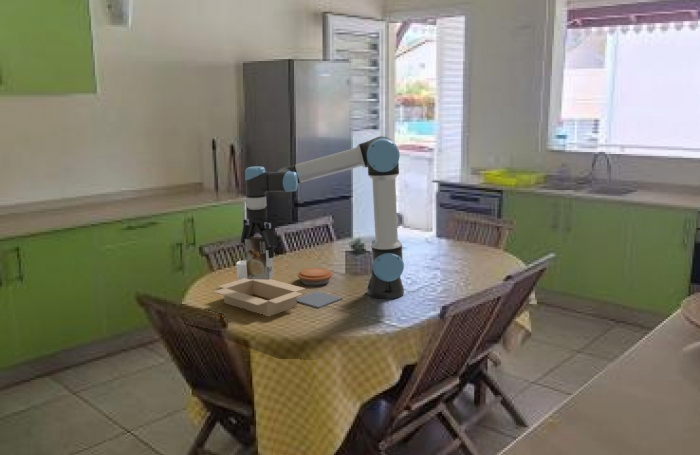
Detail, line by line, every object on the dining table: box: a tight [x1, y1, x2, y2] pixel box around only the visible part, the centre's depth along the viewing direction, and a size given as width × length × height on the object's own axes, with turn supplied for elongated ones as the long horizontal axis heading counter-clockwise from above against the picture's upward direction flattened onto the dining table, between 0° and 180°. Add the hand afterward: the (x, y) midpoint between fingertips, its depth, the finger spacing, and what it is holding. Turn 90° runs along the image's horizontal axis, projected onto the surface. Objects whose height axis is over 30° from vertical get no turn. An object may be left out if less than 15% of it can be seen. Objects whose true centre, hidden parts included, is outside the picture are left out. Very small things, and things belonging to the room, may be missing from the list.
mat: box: [297, 290, 343, 309], centre depth 253 cm, size 14×14×1 cm
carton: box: [213, 278, 306, 317], centre depth 247 cm, size 33×25×6 cm
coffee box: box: [244, 235, 274, 280], centre depth 244 cm, size 9×6×16 cm
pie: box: [296, 267, 333, 286], centre depth 277 cm, size 15×16×5 cm
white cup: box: [236, 259, 253, 280], centre depth 273 cm, size 8×8×10 cm
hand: (259, 263), depth 245 cm, fingers closed on coffee box, 11 cm apart
